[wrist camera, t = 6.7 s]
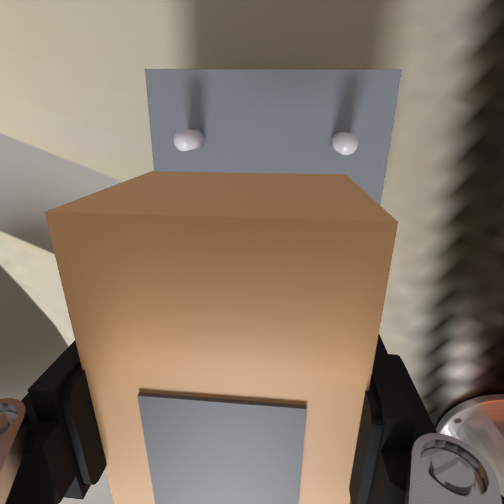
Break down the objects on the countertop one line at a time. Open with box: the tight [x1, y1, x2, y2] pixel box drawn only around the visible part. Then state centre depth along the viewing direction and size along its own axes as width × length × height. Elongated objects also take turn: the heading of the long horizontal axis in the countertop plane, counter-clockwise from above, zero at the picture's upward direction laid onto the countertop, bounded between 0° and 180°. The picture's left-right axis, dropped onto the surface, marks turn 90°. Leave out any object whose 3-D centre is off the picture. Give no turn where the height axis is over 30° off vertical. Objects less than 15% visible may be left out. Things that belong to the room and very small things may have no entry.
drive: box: [45, 171, 398, 504], centre depth 10 cm, size 10×6×5 cm, turn 0°
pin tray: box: [145, 69, 402, 205], centre depth 23 cm, size 16×16×4 cm
